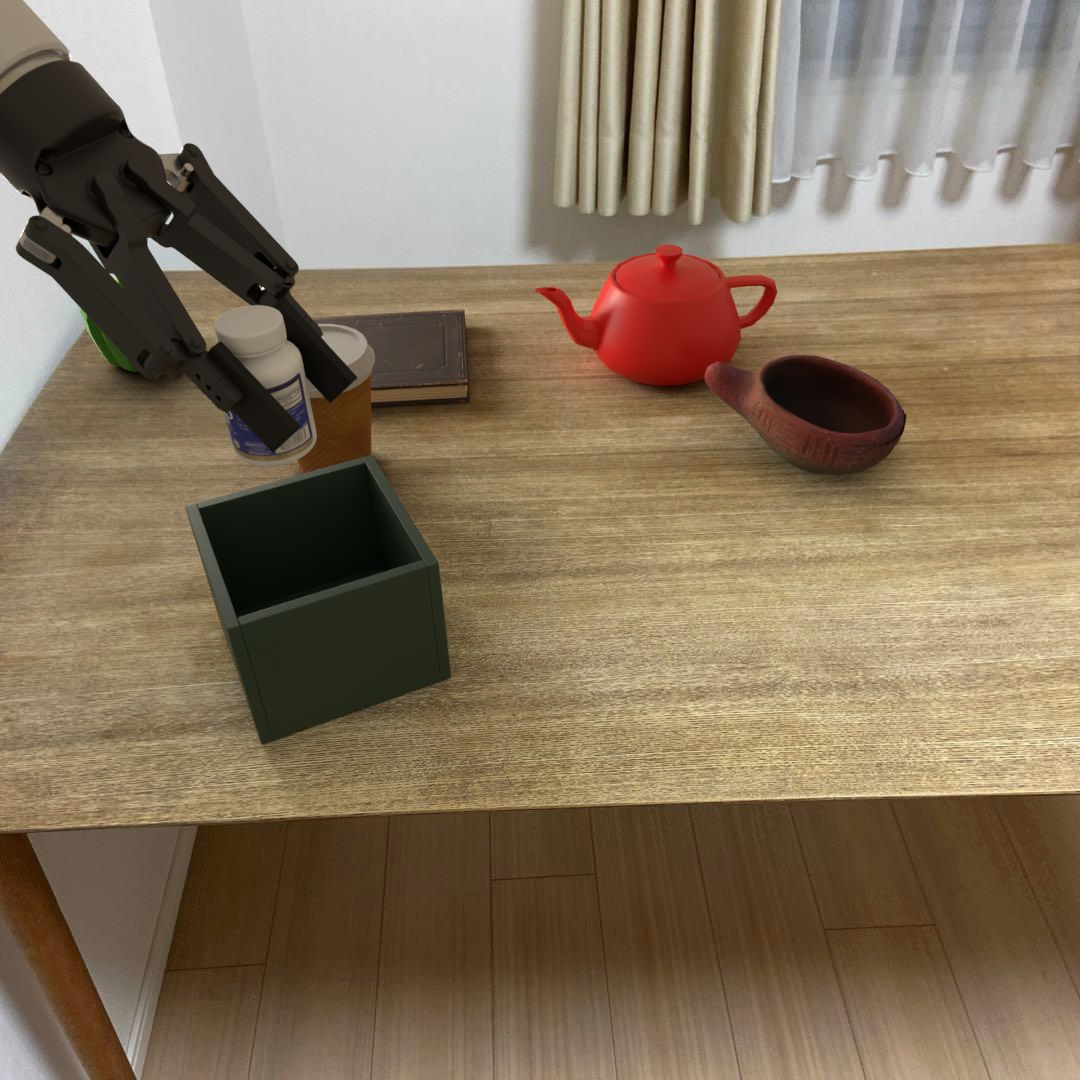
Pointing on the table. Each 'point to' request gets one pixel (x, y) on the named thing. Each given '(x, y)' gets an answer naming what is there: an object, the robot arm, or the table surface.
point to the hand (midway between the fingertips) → (315, 413)
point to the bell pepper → (107, 344)
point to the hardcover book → (414, 355)
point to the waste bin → (322, 594)
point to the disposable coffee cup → (342, 404)
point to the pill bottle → (268, 380)
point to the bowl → (814, 411)
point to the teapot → (663, 317)
